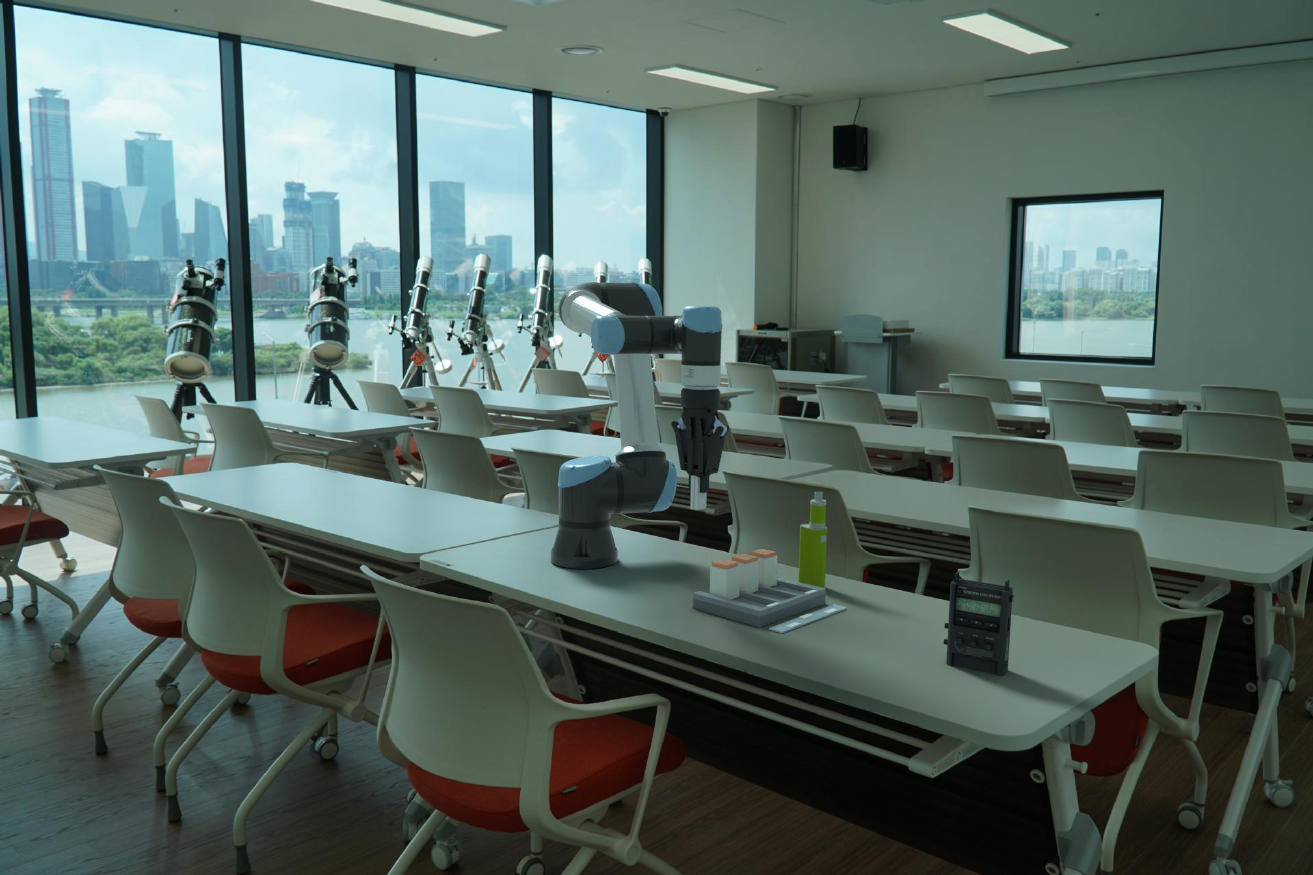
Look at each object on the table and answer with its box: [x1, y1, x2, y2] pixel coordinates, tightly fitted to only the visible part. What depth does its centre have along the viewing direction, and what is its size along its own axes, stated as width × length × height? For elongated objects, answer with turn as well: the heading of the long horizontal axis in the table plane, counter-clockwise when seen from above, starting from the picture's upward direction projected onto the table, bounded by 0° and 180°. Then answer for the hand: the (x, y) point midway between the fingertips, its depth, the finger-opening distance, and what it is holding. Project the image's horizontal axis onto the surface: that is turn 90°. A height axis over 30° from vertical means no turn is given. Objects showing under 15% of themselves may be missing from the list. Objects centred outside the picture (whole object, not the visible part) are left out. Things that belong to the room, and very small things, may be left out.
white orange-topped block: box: [750, 548, 778, 587], centre depth 199 cm, size 4×4×7 cm
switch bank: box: [692, 576, 827, 628], centre depth 193 cm, size 16×21×3 cm
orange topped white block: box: [709, 558, 740, 599], centre depth 191 cm, size 4×4×7 cm
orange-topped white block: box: [731, 553, 759, 593], centre depth 195 cm, size 4×4×7 cm
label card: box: [768, 603, 848, 634], centre depth 185 cm, size 3×21×1 cm, turn 137°
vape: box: [797, 491, 828, 589], centre depth 206 cm, size 4×6×20 cm, turn 37°
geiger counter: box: [943, 571, 1015, 677], centre depth 160 cm, size 10×4×15 cm, turn 56°
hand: (698, 508), depth 194 cm, fingers closed
